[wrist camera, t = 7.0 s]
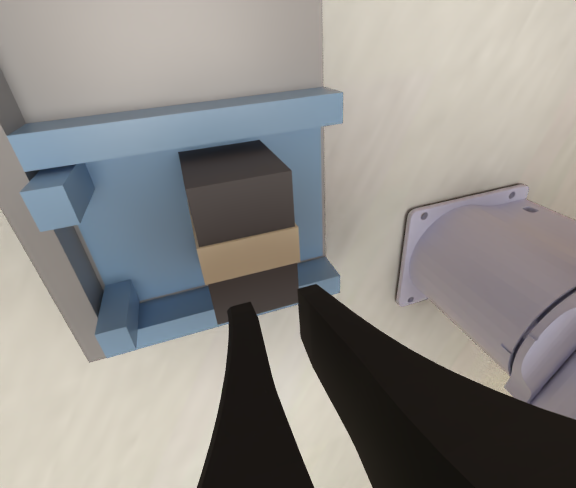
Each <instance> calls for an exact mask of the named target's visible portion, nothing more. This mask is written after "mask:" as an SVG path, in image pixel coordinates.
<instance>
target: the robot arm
mask: <svg viewBox="0 0 576 488" xmlns="http://www.w3.org/2000/svg"><path fill="white" fill-rule="evenodd" d="M528 192H529V187H528V186H527V185H524V184H520V185H515V186H511V187H506V188H502V189H498V190H493V191H489V192H485V193H480V194H476V195H472V196H467V197H463V198H459V199H454V200H450V201H445V202H441V203H437V204H432V205H428V206H424V207H419V208H415V209H413V210H411V211H410V212H409V214H408V217H407V224H406V231H405V239H404V246H403V254H402V261H401V269H400V276H399V284H398V291H397V299H396V302H397V303H398V305H399V306H401V307H402V306H406V305H410V304H413V303H416V302H420V301H423V300H426V299H429V300H430V301H431V302H433V303H434V304H435V305H436V306H437V307H438V308H439V309H440V310H441V311H442V312H443V313H444V314H445V315H446V316H447V317H448V318H449V319H450V320H451V321H453V322H454V323H455V324H456V325H457V326H458V327H459V328H460V329H461V330H462V331H463V332H464V333H465V334H466V335H467V336H468V337H469V338H470V339H472V340H473V341H474V342H475V343H476V344H477V345H478V346H479V347H480V348H481V349H482V350H483V351H484V352H485V353H486V354H487V355H488V356H489V357H491V358H492V359H493V360H494V361H495V362H496V363H497V364H498V365H499V366H500V367H501V368H502V369H503V370H504V371H505V372H506V373H507V374H508V375H509V376H510V378H509V380H508V381H507V383H506V384H505V386H504V388H505V389H506V390H507V391H508V392H509V393H510V394H511V395H512V396H513V397H514V398H513V397H510V396H508V395H505V394H503V393H500V392H498V391H495V390H493V389H491V388H488V387H486V386H484V385H481V384H479V383H477V382H475V381H472V380H470V379H468V378H466V377H464V376H461V375H459V374H457V373H455V372H453V371H450V370H448V369H446V368H444V367H442V366H440V365H438V364H436V363H435V362H433V361H431V360H429V359H427V358H425V357H423V356H421V355H419V354H418V353H416V352H414V351H412V350H411V349H409V348H407V347H405V346H404V345H402V344H400V343H399V342H397V341H396V340H394V339H392V338H391V337H389V336H388V335H386V334H385V333H383V332H382V331H380V330H378V329H377V328H375V327H374V326H373V325H371V324H370V323H368V322H367V321H365V320H364V319H363V318H361V317H360V316H358V315H357V314H355V313H354V312H353V311H351V310H350V309H349V308H347V307H346V306H345V305H343V304H342V303H341V302H339V301H338V300H337V299H335V298H334V297H333V296H332V295H330V294H329V293H328V292H326V291H325V290H324V289H323V288H321V287H320V286H319V285H317V284H314V285H310V286H306V287H303V288H299V289H297V291H298V306H299V320H300V334H301V339H302V341H303V344H304V347H305V349H306V352H307V354H308V357H309V359H310V362H311V364H312V366H313V368H314V370H315V372H316V374H317V376H318V378H319V380H320V382H321V383H322V385H323V387H324V389H325V391H326V393H327V395H328V396H329V398H330V400H331V402H332V404H333V406H334V407H335V409H336V411H337V413H338V415H339V417H340V419H341V420H342V422H343V424H344V426H345V428H346V430H347V431H348V433H349V435H350V437H351V439H352V441H353V444H354V446H355V448H356V450H357V452H358V454H359V457H360V459H361V461H362V464H363V466H364V468H365V471H366V473H367V475H368V478H369V480H370V482H371V485H372V487H373V488H576V220H574V219H571V218H569V217H567V216H564V215H562V214H560V213H557V212H555V211H553V210H550V209H548V208H546V207H543V206H541V205H539V204H536V203H534V202H532V201H529V200H527V199H526V198H527V195H528ZM423 213H424V214H423ZM422 214H423V215H422ZM421 215H422V216H421ZM227 314H228V322H229V340H228V353H227V362H226V371H225V377H224V383H223V388H222V394H221V400H220V405H219V409H218V414H217V418H216V422H215V426H214V430H213V434H212V438H211V442H210V446H209V449H208V453H207V456H206V460H205V463H204V466H203V470H202V473H201V477H200V480H199V483H198V486H197V488H314V486H313V484H312V481H311V479H310V476H309V474H308V471H307V469H306V466H305V464H304V462H303V459H302V456H301V454H300V451H299V449H298V446H297V444H296V441H295V439H294V436H293V433H292V431H291V428H290V426H289V423H288V421H287V418H286V415H285V413H284V410H283V407H282V405H281V402H280V399H279V397H278V394H277V391H276V388H275V385H274V381H273V378H272V374H271V370H270V366H269V362H268V357H267V353H266V349H265V345H264V341H263V336H262V332H261V328H260V324H259V320H258V317H257V314H256V312H255V310H254V308H253V305H252V303H251V301H250V302H247V303H243V304H239V305H235V306H232V307H230V308H229V309H228V310H227Z"/></svg>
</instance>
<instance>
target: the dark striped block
mask: <svg viewBox="0 0 576 488" xmlns="http://www.w3.org/2000/svg"><path fill="white" fill-rule="evenodd" d="M178 154H179V159H180V164H181V170H182V175H183V181H184V186H185V191H186V195H187V199H188V200H187V201H188V207H189V212H190V218H191V223H192V228H193V234H194V239H195V244H196V250H197V254H198V258H199V262H200V266H201V270H202V274H203V278H204V282H205V285H208V287H209V291H210V295H211V299H212V303H213V308H214V312H215V316H216V320H217V324H218V325H219V324H223V323H226V322H228V314H227V310H228V309H229V308H230V307H232V306H235V305H239V304H243V303H247V302H250V301H251V303H252V305H253V308H254V310H255V312H256V314H259V313H263V312H266V311H270V310H274V309H277V308H281V307H285V306H288V305H292V304H296V303H298V291H297V289H299V284H298V267H297V263H298V262H300V247H299V228H298V226H297V225H296V223H295V217H294V200H293V184H292V170H291V169H289V168H288V167H287V166H286V165H285V164H284V163H283V162H282V161H281V160H280V159H279V158H278V157H277V156H276V155H275V154H274V153H273V152H272V151H271V150H270V149H269V148H268V147H267V146H266V145H265V144H263V143H262V142H261V141H260V140H255V141H249V142H242V143H235V144H229V145H222V146H215V147H209V148H202V149H195V150H189V151H182V152H178Z"/></svg>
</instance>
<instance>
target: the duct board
mask: <svg viewBox="0 0 576 488" xmlns="http://www.w3.org/2000/svg"><path fill="white" fill-rule="evenodd" d="M341 123H343V92H340V91H337V90H333V89H329V88H326V87H323V29H322V0H0V208H1V210H2V211H3V213H4V215H5V217H6V218H7V220H8V222H9V224H10V225H11V227H12V229H13V231H14V232H15V234H16V236H17V238H18V239H19V241H20V243H21V245H22V246H23V248H24V250H25V252H26V253H27V255H28V257H29V259H30V260H31V262H32V264H33V266H34V267H35V269H36V271H37V272H38V274H39V276H40V278H41V279H42V281H43V283H44V285H45V286H46V288H47V290H48V292H49V293H50V295H51V297H52V299H53V300H54V302H55V304H56V306H57V307H58V309H59V311H60V313H61V314H62V316H63V318H64V320H65V321H66V323H67V325H68V327H69V328H70V330H71V332H72V334H73V335H74V337H75V339H76V340H77V342H78V344H79V346H80V347H81V349H82V351H83V353H84V354H85V356H86V358H87V360H88V361H89V363H90V362H93V361H97V360H101V359H104V358H109V357H113V356H116V355H120V354H123V353H127V352H131V351H134V350H136V349H140V348H144V347H147V346H151V345H154V344H158V343H161V342H165V341H169V340H172V339H176V338H179V337H183V336H186V335H190V334H194V333H197V332H201V331H204V330H208V329H212V328H215V327H219V326H222V325H226V324H229V322H226V323H223V324H219V325H218V324H217V320H216V316H215V312H214V308H213V303H212V299H211V295H210V291H209V287H208V285H205V282H204V278H203V274H202V270H201V266H200V262H199V258H198V254H197V250H196V244H195V239H194V234H193V228H192V223H191V218H190V212H189V207H188V201H187V200H188V199H187V195H186V191H185V186H184V181H183V175H182V170H181V164H180V159H179V154H178V152H182V151H189V150H195V149H202V148H209V147H215V146H222V145H229V144H235V143H242V142H249V141H255V140H260V141H261V142H262V143H263V144H265V145H266V146H267V147H268V148H269V149H270V150H271V151H272V152H273V153H274V154H275V155H276V156H277V157H278V158H279V159H280V160H281V161H282V162H283V163H284V164H285V165H286V166H287V167H288V168H289V169H291V170H292V184H293V200H294V217H295V223H296V225H297V226H298V228H299V247H300V262H298V263H297V267H298V284H299V288H303V287H306V286H310V285H314V284H317V285H319V286H320V287H321V288H323V289H324V290H325V291H326V292H328V293H329V294H330V295H333V294H337V293H340V275H339V274H338V272H337V271H336V270H335V268H334V267H333V266H332V265H331V263H330V262H329V261H328V259H327V258H326V257H325V192H324V126H328V125H335V124H341ZM297 304H298V303H296V304H292V305H288V306H285V307H281V308H277V309H274V310H270V311H266V312H263V313H259V314H257V316H258V315H262V314H265V313H269V312H272V311H276V310H279V309H283V308H287V307H290V306H294V305H297Z"/></svg>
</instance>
